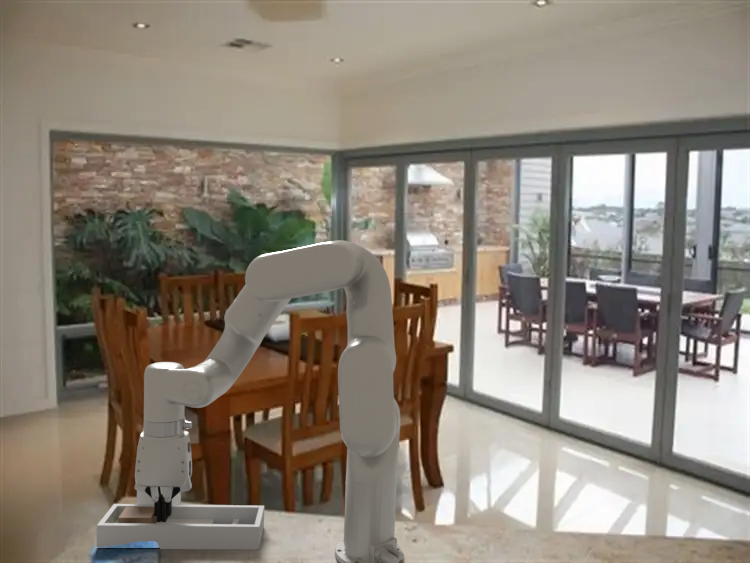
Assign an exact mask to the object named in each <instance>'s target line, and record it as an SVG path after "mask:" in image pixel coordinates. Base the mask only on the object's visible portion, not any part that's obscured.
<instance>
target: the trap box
mask: <svg viewBox="0 0 750 563" xmlns="http://www.w3.org/2000/svg"><path fill="white" fill-rule="evenodd" d="M126 507H154V504H137V503H113V504H112V505H111V507H110V508H109V509H108V510H107V512H106V513H105V514H104V516H103V517H102V518H101V519H100V521H99V522H98V523H97V524H96V548H97V547H102V546H110V545H118V544H125V543H131V542H139V541H155V542H157V543H158V545H159V548H160V549H159V550H211V551H212V550H217V551H218V550H219V551H220V550H225V551H226V550H234V551H235V550H237V551H239V550H241V551H246V550H247V551H249V550H250V551H252V550H253V551H258V550H260V546H261V542H262V537H263V532H264V528H265V505H251V504H250V505H248V504H247V505H244V504H243V505H241V504H240V505H239V504H235V505H234V504H181V505H172V513H171V516H169V517H168V519H167V520H166V522H162V521H161V522H156V524H150V523H119V516H120V515H121V513H122V512H123V511H124V509H125V508H126Z"/></svg>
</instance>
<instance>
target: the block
mask: <svg viewBox="0 0 750 563" xmlns="http://www.w3.org/2000/svg"><path fill="white" fill-rule="evenodd" d="M156 522H157V516H154V507H126V508H125V509H124V511H123V512H122V513H121V515H120V516H119V523H150V524H156Z"/></svg>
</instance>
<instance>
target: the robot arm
mask: <svg viewBox="0 0 750 563" xmlns="http://www.w3.org/2000/svg"><path fill="white" fill-rule="evenodd" d="M244 281H245V284H244V285H243V287H242V288H241V290H240V291H239V293H238V294H237V296H236V297H235V299H234V300H233V301H232V303H231V304H230V305H229V307H228V308H227V310H226V311H225V312H224V313H225V314H224V317H223V318H224V329H223V333H222V334H221V336H220V338H219V339H218V340H217V343H216V345H215V346H214V347H213V349H212V350H211V351H210V353H209V355H207V357H206V359H204V360H203V361H202V362H201V363H199V364H197V365H195V366H191V367H189V368H185V367H184V366H183V364H181V363H178V362H173V361H160V362H154V363H151V364H148V365H147V366H146V367H145V370H144V374H143V380H144V381H143V384H144V385H143V427H144V432H141V433H140V436H139V439H138V442H137V444H138V445H137V447H138V449H137V448H136V449H137V450H136V458H135V466H134V469H135V470H134V481H135V483H134V484H135V485H134V487H133V488H134V490H135V491H137V490H138V491H142V492H146V493H147V494H148V495H149V496H150V497H151V498H152V501H153V502H154V516H157V522H161V521H162V522H166V520H167V519H168V517H169V516H171V513H172V499H173V498H174V497H175V496H176V495H177V494H178V493H180V492H181V493H184V492H189V491H190V490H191V489H192V487H193V484H192V482H191V481H192V480H191V477H192V474H193V459H192V446H191V439H190V432H189V431H187V430H188V429H192V427H193V421H189V420H187V419H186V416H185V408H186V407H189V408H195V409H196V408H197V409H199V408H201V409H202V408H204V407H207V406H209V405H210V404H212V403H213V402H215V401H217V399H218V398H220V397H221V396H223V395H224V394H225V393H227V392H228V391H230V389H231V388H232V387H233V385H234V384H235V382H236V381H237V380H238V378H239V377H240V376H241V374H242V373H243V371H244V369H246V367H247V366H248V364H249V362H251V359H252V358H253V356H254V355H255V353H256V351H257V349H258V348H259V347H260V345H261V343H262V341H263V340H264V338H265V337H266V335H267V333H268V332H269V331H270V329H271V328H272V326H273V325H274V323H275V322H276V321H277V320H278V317H279V316H280V315H281V314H282V312H283V311H284V309H285V308H286V307H287V305H288V304H289V303H290V301H291V299H296V298H303V297H307V296H312V295H317V294H323V293H327V292H333V291H337V290H340V289H343V290H344V292H345V295H346V296H345V297H346V324H347V346H346V347H345V349H344V350H343V351H342V353H341V355H340V358H339V360H338V361H339V362H338V367H337V368H338V369H337V383H338V384H337V385H338V386H337V387H338V389H337V390H338V391H337V392H338V407H339V408H338V409H339V412H338V413H339V429H340V434H341V435H340V436H341V438H342V441H343V443H344V444H345V446H346V447H347V454H346V470H345V473H346V474H345V492H344V493H345V495H344V522H343V539H342V540H341V541H340V542H338V543H337V545H335V548H334V549H335V550H334V555H335V556H334V557H335V559H336V560H337V561H338V563H400V562H401V561H402V560H404V558H405V554H404V553H403V551H402V548H401V546H399V544H398V538H397V537H395V532H396V531H395V527H396V510H397V509H396V508H397V505H396V504H397V503H396V502H397V480H398V464H399V461H398V460H399V445H400V433H401V432H400V431H401V411H400V406H399V404H398V401H397V400H396V399H395V396H394V395H395V394H394V372H395V370H396V365H397V364H396V363H397V354H396V348H395V328H394V327H395V326H394V314H393V300H392V289H391V285H390V280H389V276H388V274H387V271H386V270H385V267H384V266H383V264H382V263H381V261H380V259H378V257H377V256H376V255H375V254H373V253H372V252H371V251H370V250H368V249H366V248H365V247H363V246H361V245H359V244H357V243H354V242H351V241H349V240H330V241H325V242H319V243H315V244H309V245H306V246H301V247H296V248H291V249H286V250H282V251H275V252H269V253H264V254H260V255H258V256H256V257H255V258H254V259H253V260H252V261H250V263H249V265H248V266H247V268H246V270H245V275H244ZM161 487H167V488H166V494H165V497H164V496H163V495H162V491H161Z"/></svg>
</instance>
